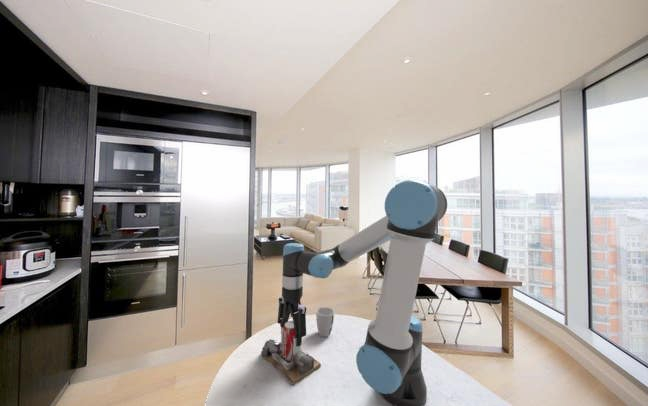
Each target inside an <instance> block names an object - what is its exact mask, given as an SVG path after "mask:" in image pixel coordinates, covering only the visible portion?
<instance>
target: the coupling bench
mask: <svg viewBox="0 0 648 406" xmlns="http://www.w3.org/2000/svg"><path fill="white" fill-rule="evenodd" d="M279 343H281V341H280V342H279ZM260 353H261V356H262V350H261V352H260ZM263 358H264V359H265V360H266V361H267V362H268V363H270V364H271V365H272V366H273V367H274V368H275V369H276V370H277V371H278V372H279V373H280V374H281V375H283V377H284V378H285V379H286V380H288V381H289V382H290V384H292V385H293V386H294V385H296V384H297V383H299V382H300V381H301V380H303V379H304V378H306V377H308V376H309V375H311V374H312V373H314V372H315V371H317V370H318V369H320V368H321V367H322V366H321V365H322V364H321V362H319V361H318V360H316V359H315V357H313V356H312V355H310V354H309V353H308V352H307V351H305V350H304V349H303V348H301V352H300V351H298V352H297V353H296V354H295V355H294V357H293V360H292V361H286V360H284V359H283V358H282V348H281V350H280V355H278V354H275V353H272V354H270V355H269V356H268V357H267V358H266V357H263Z"/></svg>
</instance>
